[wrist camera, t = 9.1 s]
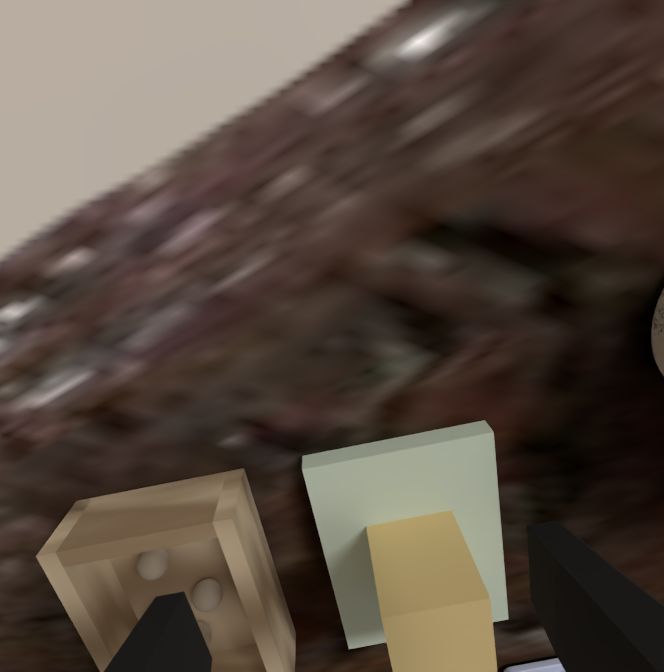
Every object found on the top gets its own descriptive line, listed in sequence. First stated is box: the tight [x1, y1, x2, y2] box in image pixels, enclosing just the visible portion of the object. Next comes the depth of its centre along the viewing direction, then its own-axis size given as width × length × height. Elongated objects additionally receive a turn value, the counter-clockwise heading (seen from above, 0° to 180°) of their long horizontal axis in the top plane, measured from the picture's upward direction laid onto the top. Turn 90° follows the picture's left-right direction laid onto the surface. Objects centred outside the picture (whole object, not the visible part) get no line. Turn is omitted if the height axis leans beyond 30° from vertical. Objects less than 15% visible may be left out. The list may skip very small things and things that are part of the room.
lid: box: [302, 420, 508, 672], centre depth 19 cm, size 11×8×6 cm
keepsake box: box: [36, 468, 296, 672], centre depth 21 cm, size 11×8×3 cm
